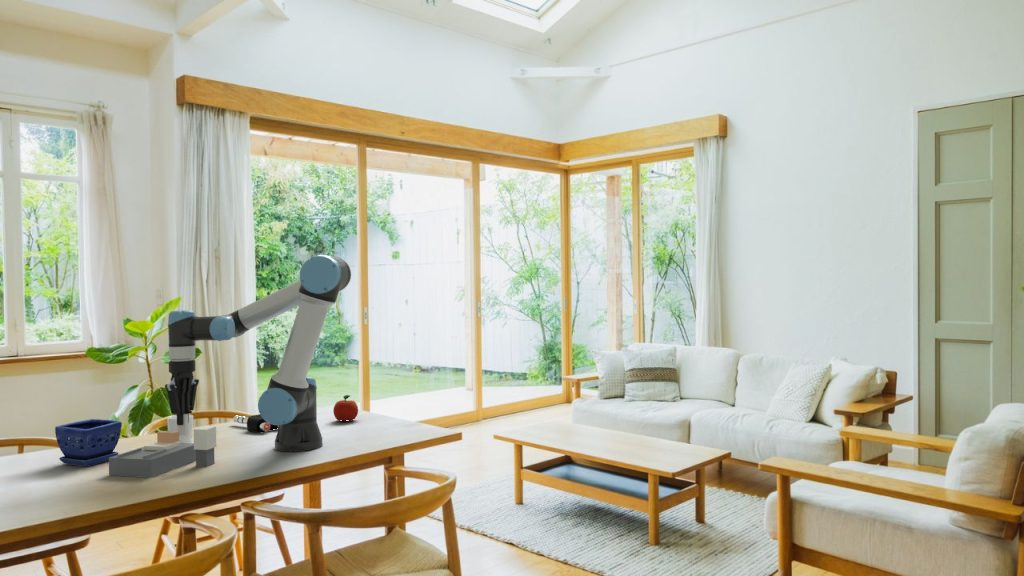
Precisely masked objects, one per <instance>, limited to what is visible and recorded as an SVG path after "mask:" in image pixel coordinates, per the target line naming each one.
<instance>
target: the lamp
mask: <svg viewBox="0 0 1024 576" xmlns="http://www.w3.org/2000/svg"><path fill="white" fill-rule="evenodd" d="M232 420H233V422H234V423H237V424H243V425H246V429H247V431H249V432H255V433H259V434H262V433H261V432H263V433H266V432H265V431H268V432H270V431H269V430H272V431H274V430H273V429H277V428H279V426H280V425H273V424H270V423H268V422H266V421H265V420H264V419H263V418H262V416H261V414H260V413H259V414H254V415H250V416H243V415H234V416H233V418H232ZM277 430H278V429H277Z"/></svg>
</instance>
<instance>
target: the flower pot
mask: <svg viewBox="0 0 1024 576" xmlns="http://www.w3.org/2000/svg"><path fill="white" fill-rule="evenodd" d="M122 424H123V423H122V421H120V420H113V419H110V420H109V419H101V418H100V419H99V418H90V419H85V420H80V421H75V422H69V423H66V424H61V425H57V426H55V427H54V431H55V438H56V439H55V440H56V443H57V445H58V448H59V450H60V451H61V453H62V454H63V456H61V457H59V458H58V459H59V460H60V462H61V463H63V464H65V465H72V466H79V467H85V466H87V467H91V466H93V465H98V464H101V463H102V464H103V463H105V461H106V462H109V457H113V456H116V455H118V454H119V452H118V451H115V449H116V448H117V445H118V443H119V440H120V436H121V432H122V426H123V425H122Z"/></svg>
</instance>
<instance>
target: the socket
mask: <svg viewBox="0 0 1024 576" xmlns="http://www.w3.org/2000/svg"><path fill="white" fill-rule="evenodd" d="M193 462H196V450H194V442H192V443H181V445H180V446H177V447H174V448H171V449H168V450H166V449H162V450H159V451H157V450H144V446H141V447H138V448H136V449H135V448H134V449H132V450H128V451H126V452H122V453H118V455H116V456H113V457H109V461H108V475H109V476H115V477H117V476H118V477H135V478H154V477H157V476H160V475H162V474H165V473H167V472H170V471H173V470H175V469H177V468H180V467H184V466H185V465H188V464H191V463H193Z"/></svg>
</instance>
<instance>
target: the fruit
mask: <svg viewBox="0 0 1024 576" xmlns="http://www.w3.org/2000/svg"><path fill="white" fill-rule="evenodd" d="M349 398H351V395H349V394H345V395H343V399H342V400H339V401H337V402H336V403H335V404H334V407H333V416H334V417H335V419H336V420H337V421H339V420H342V421H346V420H352V421H354V420H355V419H356V417H358V414H359V406H358V404H357V403H356V401H354V400H351V399H350V400H347V399H349ZM353 419H354V420H353Z"/></svg>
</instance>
